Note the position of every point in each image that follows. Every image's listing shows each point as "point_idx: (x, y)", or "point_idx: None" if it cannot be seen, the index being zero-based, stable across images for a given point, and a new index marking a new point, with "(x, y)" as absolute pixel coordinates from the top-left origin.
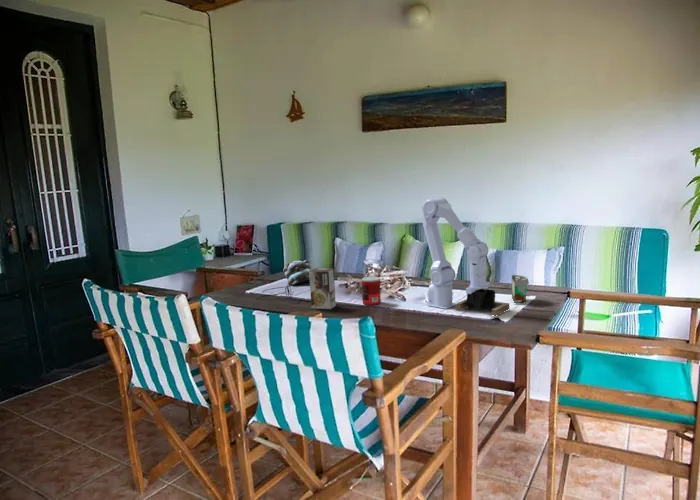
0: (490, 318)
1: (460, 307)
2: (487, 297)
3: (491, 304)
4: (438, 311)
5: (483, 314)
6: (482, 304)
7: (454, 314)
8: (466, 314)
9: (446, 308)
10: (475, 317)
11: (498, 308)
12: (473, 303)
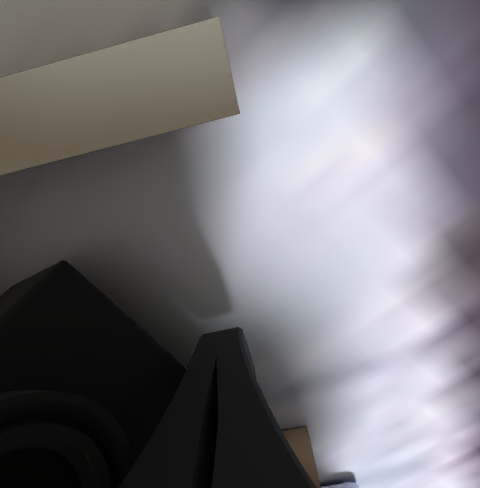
0: (347, 25)
1: (300, 452)
2: (18, 469)
3: (52, 305)
4: (432, 471)
5: (256, 229)
6: (154, 379)
7: (442, 380)
8: (378, 328)
9: (353, 484)
10: (425, 202)
11: (86, 54)
12: None
